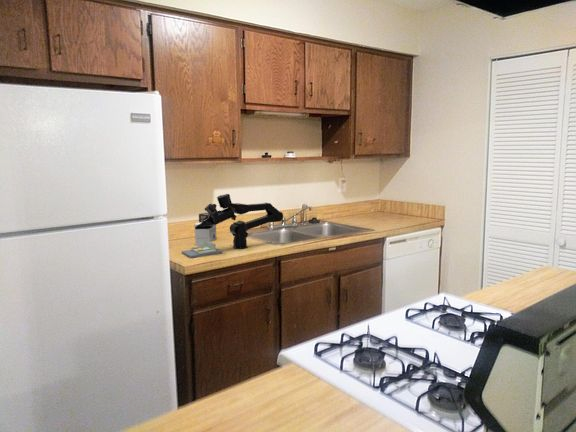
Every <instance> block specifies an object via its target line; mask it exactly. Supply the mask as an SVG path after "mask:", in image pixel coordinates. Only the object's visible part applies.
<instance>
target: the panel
mask: <svg viewBox="0 0 576 432" xmlns="http://www.w3.org/2000/svg"><path fill="white" fill-rule="evenodd" d="M198 248H203V251H201V252H199V251H197V249H194V248H192V247H190V250H192V251H194V252H196V253H198V254H203V253H209V252H216V249H217V248H216V243H214V242H213V241H210V242H209V241H207V240H204V246H198Z"/></svg>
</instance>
